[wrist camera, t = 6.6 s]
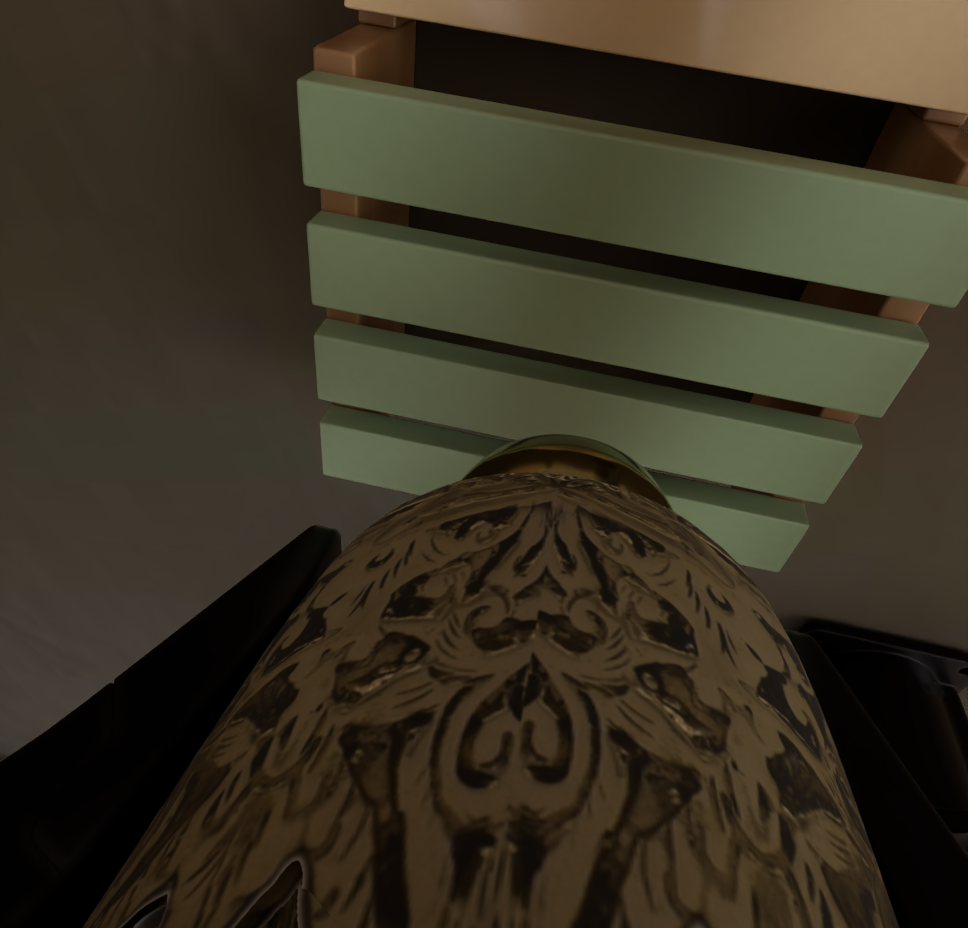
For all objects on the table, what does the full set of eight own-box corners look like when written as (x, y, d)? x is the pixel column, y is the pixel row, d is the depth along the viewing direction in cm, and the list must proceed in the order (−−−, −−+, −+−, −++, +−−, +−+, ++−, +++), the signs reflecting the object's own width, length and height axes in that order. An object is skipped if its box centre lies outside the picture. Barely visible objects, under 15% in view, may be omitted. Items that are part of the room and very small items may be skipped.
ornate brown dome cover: (336, 265, 9) (-235, 955, 3) (890, 341, 8) (1469, 1425, 2) (369, 593, 14) (168, 1103, 8) (720, 660, 13) (775, 1274, 7)
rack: (1467, -910, 7) (2355, -1770, 3) (750, 456, 21) (773, 582, 17) (390, -996, 8) (160, -1787, 4) (379, 380, 21) (323, 484, 18)
